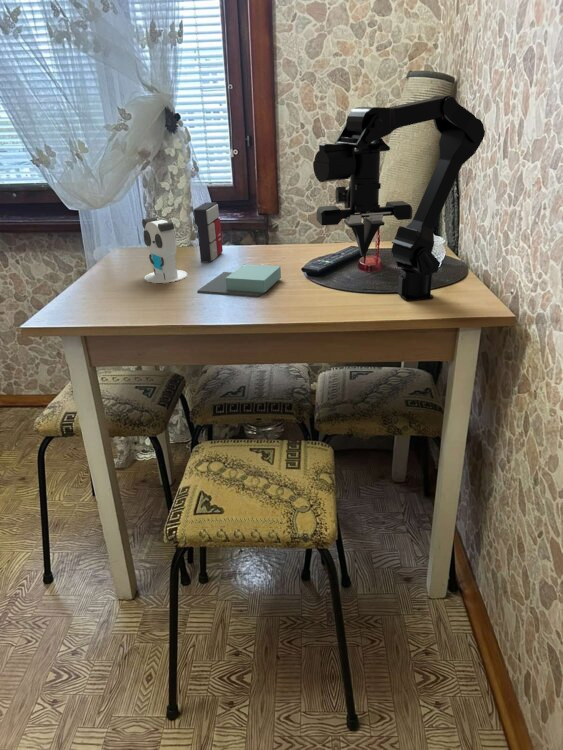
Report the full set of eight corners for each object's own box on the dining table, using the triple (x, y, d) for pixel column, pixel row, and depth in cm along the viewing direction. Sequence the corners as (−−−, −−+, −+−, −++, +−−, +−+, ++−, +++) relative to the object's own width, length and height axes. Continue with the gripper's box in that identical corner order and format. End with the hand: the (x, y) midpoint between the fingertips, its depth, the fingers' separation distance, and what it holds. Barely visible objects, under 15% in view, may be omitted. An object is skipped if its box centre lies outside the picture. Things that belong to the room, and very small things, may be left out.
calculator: (213, 262, 163) (207, 209, 156) (198, 262, 164) (193, 209, 157) (224, 252, 173) (219, 202, 166) (210, 252, 174) (205, 202, 167)
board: (280, 266, 145) (244, 264, 148) (264, 280, 134) (225, 277, 138) (280, 277, 146) (244, 275, 149) (264, 292, 136) (226, 289, 139)
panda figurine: (136, 276, 154) (127, 220, 147) (174, 267, 160) (167, 213, 153) (156, 286, 145) (147, 227, 139) (194, 277, 151) (188, 220, 145)
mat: (280, 277, 148) (279, 275, 148) (258, 297, 135) (258, 294, 134) (223, 273, 153) (223, 271, 153) (197, 292, 139) (197, 290, 139)
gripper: (397, 169, 121) (393, 242, 128) (310, 174, 119) (312, 248, 126) (415, 176, 111) (410, 255, 118) (321, 182, 109) (322, 262, 116)
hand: (363, 254), depth 119 cm, fingers closed
